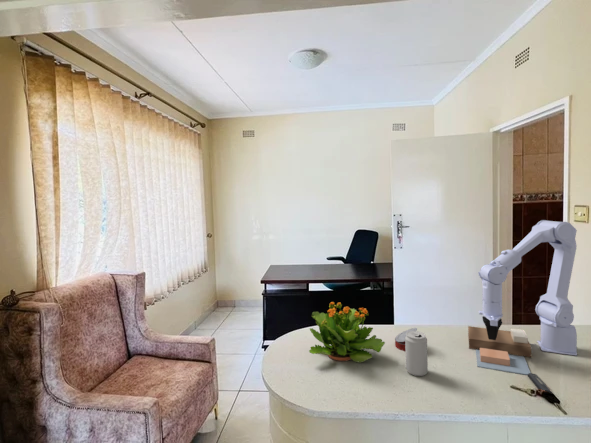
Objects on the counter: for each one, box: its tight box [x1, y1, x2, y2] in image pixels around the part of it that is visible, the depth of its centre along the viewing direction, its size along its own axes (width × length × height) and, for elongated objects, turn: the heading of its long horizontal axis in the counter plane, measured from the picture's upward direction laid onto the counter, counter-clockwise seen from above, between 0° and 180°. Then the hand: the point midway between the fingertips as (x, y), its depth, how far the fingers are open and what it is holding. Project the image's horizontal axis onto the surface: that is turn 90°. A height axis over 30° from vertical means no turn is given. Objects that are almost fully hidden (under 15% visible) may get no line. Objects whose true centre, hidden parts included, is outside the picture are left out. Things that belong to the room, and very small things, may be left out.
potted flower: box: [308, 301, 386, 363], centre depth 115 cm, size 25×24×18 cm
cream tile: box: [510, 328, 529, 344], centre depth 114 cm, size 4×7×2 cm, turn 154°
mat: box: [475, 349, 531, 376], centre depth 106 cm, size 14×12×1 cm
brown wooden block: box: [467, 325, 532, 358], centre depth 117 cm, size 18×12×4 cm, turn 64°
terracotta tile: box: [480, 348, 510, 366], centre depth 107 cm, size 8×6×2 cm
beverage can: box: [404, 330, 429, 377], centre depth 102 cm, size 6×6×12 cm
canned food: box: [394, 327, 418, 352], centre depth 119 cm, size 10×9×9 cm
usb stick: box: [526, 372, 553, 395], centre depth 93 cm, size 10×3×2 cm, turn 166°
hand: (492, 339), depth 113 cm, fingers closed
